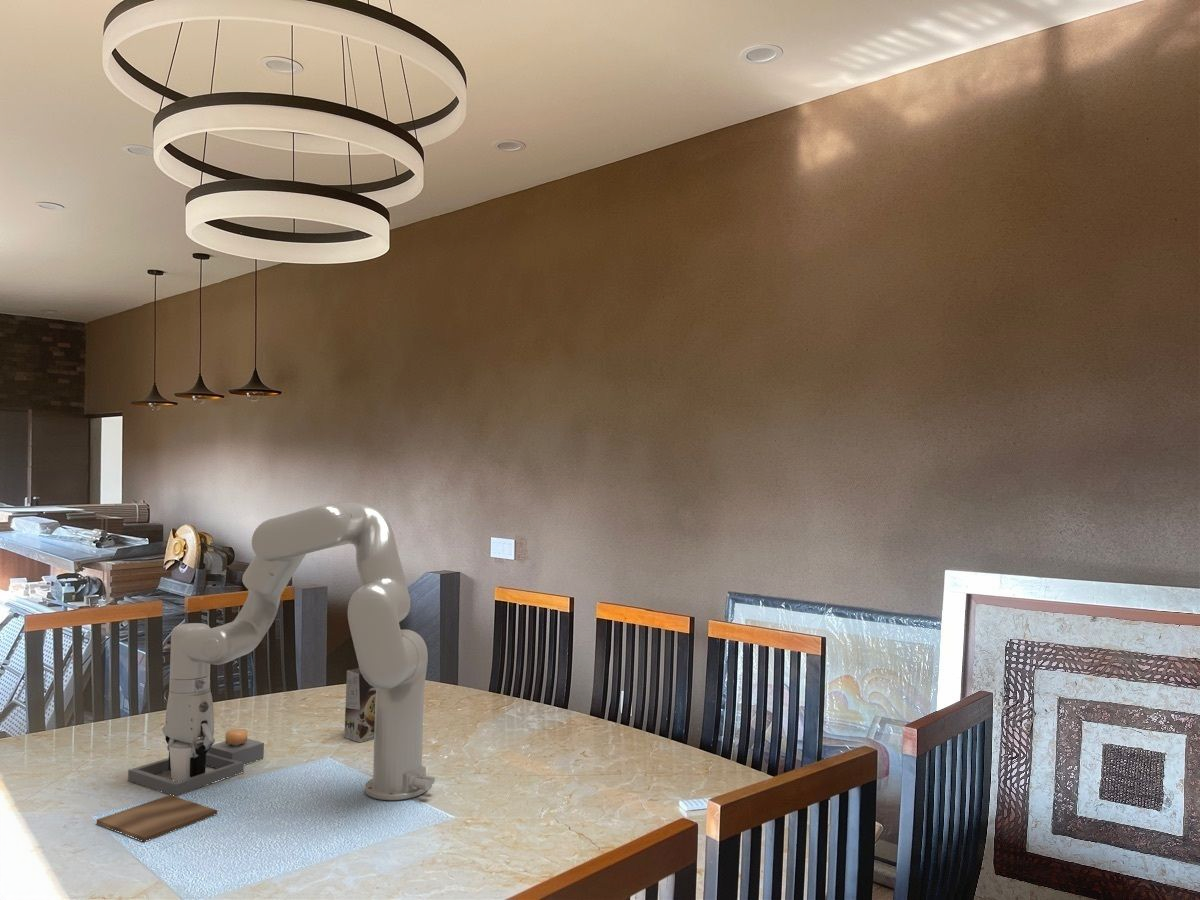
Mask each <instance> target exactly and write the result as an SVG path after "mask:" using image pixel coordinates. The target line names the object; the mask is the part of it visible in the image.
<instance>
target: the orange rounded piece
mask: <svg viewBox="0 0 1200 900" xmlns="http://www.w3.org/2000/svg"><path fill="white" fill-rule="evenodd" d="M247 739H248V730H247V729H245V728H235V729H230V730H227V731H226V732H225V739H224V741H225V743H226V744H231V745H232V746H233V747H237V746H240V744H242V743H245V742H247Z"/></svg>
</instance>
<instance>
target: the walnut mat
mask: <svg viewBox="0 0 1200 900" xmlns="http://www.w3.org/2000/svg"><path fill="white" fill-rule="evenodd" d="M214 814H217V815H218V810H217V809H215V808H212V807H208V806H205V805H202V804H200V803H197V802H193V801H190V800H187V799H185V798H181V797H178V796H173V795H169V794H167V795H165V796H162V797H159V798H156V799H154V800H150V801H147V802H145V803H142V804H138V805H136V806H132V807H129V808H128V809H124V810H121V811H118V812H115V813H112V814H110V815H107V816H106V815H105V816H104V817H100V818H98V819H96V825H97V824H99V825H98V826H100V825H101V826H100V827H103V826H104V827H103V828H105V827H108V828H110V829H113V830H116V831H119V832H122V833H124V834H127V835H129V836H132V837H134V838H137V839H139V840H142V841H146V840H149V839H152V838H154V839H156V838H155V837H157V836H159V837H161V836H160V835H162V836H164V835H163V834H165V833H167V834H169V833H168V832H170V831H172V832H174V831H173V830H175V829H178V828H180V829H182V828H181V827H183V828H185V827H184V826H186V827H188V826H190V824H191V825H193V824H196V823H198V822H197V821H199V822H201V821H204V820H206V819H205V818H207V817H209V818H211V817H210V816H212V817H214V816H215V815H214ZM213 815H214V816H213ZM203 819H204V820H203ZM207 819H208V818H207ZM200 820H201V821H200ZM195 822H196V823H195ZM187 825H188V826H187ZM108 828H107V829H108ZM110 829H109V830H110ZM113 830H112V831H113ZM178 830H179V829H178ZM116 831H115V832H116ZM175 831H176V830H175ZM170 833H171V832H170ZM124 834H123V835H124ZM165 835H166V834H165ZM129 836H128V837H129ZM134 838H133V839H134ZM157 838H158V837H157ZM137 839H136V840H137ZM139 840H138V841H139ZM152 840H153V839H152ZM142 841H141V842H142ZM149 841H150V840H149ZM146 842H147V841H146Z"/></svg>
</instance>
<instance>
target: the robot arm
mask: <svg viewBox="0 0 1200 900" xmlns="http://www.w3.org/2000/svg"><path fill="white" fill-rule="evenodd" d="M350 544H351V545H353V546H354V547H355V561H356V570H357V572H358V576H359V579H360V580H359V581H360V584H361V586H360V587H358V588H357V589H356V590H355V591H354V592H353V594H352V595H351V597H350V599H349V602H348V606H347V620H348V626H349V630H350V635H351V639H352V642H353V648H354V651H355V655H356V659H357V663H358V668H360V671H361V673H362V675H363V677H364V679H365V680H366V681H367V682H368V683H369V684H370V685H371V686H373V687H375V688H377V690H376V699H375V728H374V739H373V765H372V766H373V767H372V768H373V769H372V770H373V771H372V772H373V773H372V776H373V777H372V778H370V779H369V780H368V781H366V782H365V785H364V793H365V794H366V796H369V797H370V798H373V799H377V800H383V801H401V800H407V799H411V798H416V797H418V796H421V795H423V794H424V793H426V792H429V791H430V790H431V788H432V787H433V784H434V783H435V780H436V779H435V777H434V776H430V775H427V767H426V766H424V765H423V735H424V730H423V729H424V703H425V702H424V701H425V699H424V698H425V685H426V676H427V669H428V661H429V657H428V656H429V654H428V647H427V645H426V642H425V640H424V638H423V637H422V636H421V635H420V634H419V633H417V632H416V631H413V630H411V629H401V626H400V622H402V621H403V620H405V619H406V617H407V616H408V614H409V613H410V610H411V604H412V603H411V597H410V593H409V589H408V585H407V581H406V576H405V572H404V570H403V566H402V563H401V558H400V555H399V551H398V546H397V542H396V538H395V534H394V530H393V528H392V526H391V524H390V522H389V520H388V519H387V517H386V516H385V515H384V514H383V513H382V512H381V511H379V510H378V509H377V508H376V507H373V506H370V505H366V504H364V503H360V502H359V503H358V502H338V503H327V504H320V505H318V506H317V505H316V506H314V507H310V508H306V509H302V510H299V511H296V512H293V513H292V512H291V513H289V514H284V515H280V516H277V517H273V518H269V519H267V520H264V521H263V522H261V523H260V524H259V525H258V526H257V528H255V530H254V532H253V534H252V537H251V549H252V550H253V551H252V552H253V553H254V554H255V555H254V556H253V558H252V560H251V561H250V563H249V564H248V567H247V568H246V570H245V571H244V573H243V574H242V578H241V579H242V583H243V585H244V587H245V588H246V589H247V591H248V594H247V597H246V600H245V602H244V604H243V606H242V607H241V609H240V611H239V612H238V614H237V615H236V617H235V618H234V619H233V620H232V621H231V622H228V623H224V624H222V625H218V626H215V627H212V628H211V627H210V626H209V624H207V623H200V622H198V623H197V622H192V623H190V622H189V623H183V624H182V623H181V624H179V625H178V624H177V625H175V627H174V628H172V631H171V633H170V634H171V635H170V655H169V656H170V657H169V658H170V659H169V661H170V662H169V689H168V697H167V701H166V709H165V710H166V711H165V723H164V726H162V729H161V731H162V733H163V736H164V737H165V739H164V740H165V741H166V745H167V746H166V749H167V751H168V758H169V765H168V770H169V772H171V764H170V749H169V745H170V744H171V743H172V742H175V741H182V742H186V743H190V746H191V751H192V756H193V757H191V758H190V777H194V776H197V775H200V774H203V773H206V772H207V771H206V767H207V765H206V755H207V754H208V751H209V749H210V748H211V746H212V745H214V743H215V741H216V739H215V738H214V736H215V735H214V734H215V713H214V704H213V703H214V702H213V696H212V692H211V690H210V686H211V685H210V684H211V679H210V678H211V665H215V666H217V665H224V664H227V663H229V662H232V661H234V660H236V659H238V658H241V657H243V656H246V655H248V654H250V653H251V652H253V651H254V650H255V649H256V648H257V647H258V645H259V644H260V643H261V642H262V640H263V639H264V637H265V635H266V634H267V632H268V631H269V629H270V628H271V626H272V625H273V623H274V621H275V618H276V616H277V614H278V610H279V608H280V607H279V606H280V602H281V597H282V594H283V592H284V591H285V589H286V587H287V585H289V582H290V580H291V578H292V577H293V576H294V574H295V572H296V571H297V569H298V567H299V566H300V565H301V563H302V562H303V560H304V558H305V557H306V556H307V555H308V554H311V553H314V552H317V551H318V552H319V551H322V550H326V549H329V548H330V549H331V548H334V547H340V546H344V545H350ZM197 738H199V739H200V740H198V741H197ZM199 743H200V744H201V746H200V747H199V748H198V750H197V745H196V744H199Z"/></svg>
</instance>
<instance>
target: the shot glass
mask: <svg viewBox="0 0 1200 900" xmlns="http://www.w3.org/2000/svg"><path fill="white" fill-rule="evenodd" d="M198 740H200V737H199V738H197V741H198ZM196 745H197V750H198V748H199V747H200V746H201V744H200V743H199V744H196ZM169 749H170V764H171V771H170V775H171V776H170V777H171V778H172V779H171V780H174V781H176V782H177V781H182V780H185V779H188V778H191V777H190V758H191V757H193V756H192V751H191V746H190V743H186V742H182V741H175V742H172V743H171V744H170V745H169Z"/></svg>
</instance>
